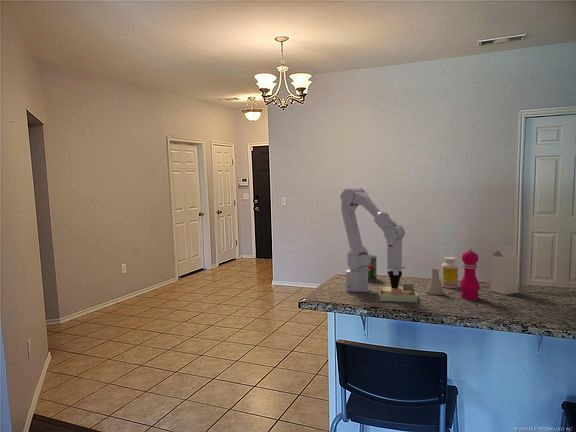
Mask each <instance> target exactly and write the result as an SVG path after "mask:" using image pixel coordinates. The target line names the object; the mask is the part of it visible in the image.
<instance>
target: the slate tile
mask: <svg viewBox="0 0 576 432" xmlns="http://www.w3.org/2000/svg"><path fill="white" fill-rule="evenodd" d="M401 287H402V289H403V290H413V288H414V282H412V281H402V282H401Z"/></svg>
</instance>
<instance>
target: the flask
mask: <svg viewBox="0 0 576 432" xmlns="http://www.w3.org/2000/svg"><path fill="white" fill-rule="evenodd" d="M439 273H440V269H439V268H431V278H430V281H429V284H428V286H427V288H426V291H425V292H426V294H429V295H433V296H434V295H435V296H439V295H444V294H445V292H444V289H443V288H444V287H443V286H442V282H441V280H440V275H439Z"/></svg>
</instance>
